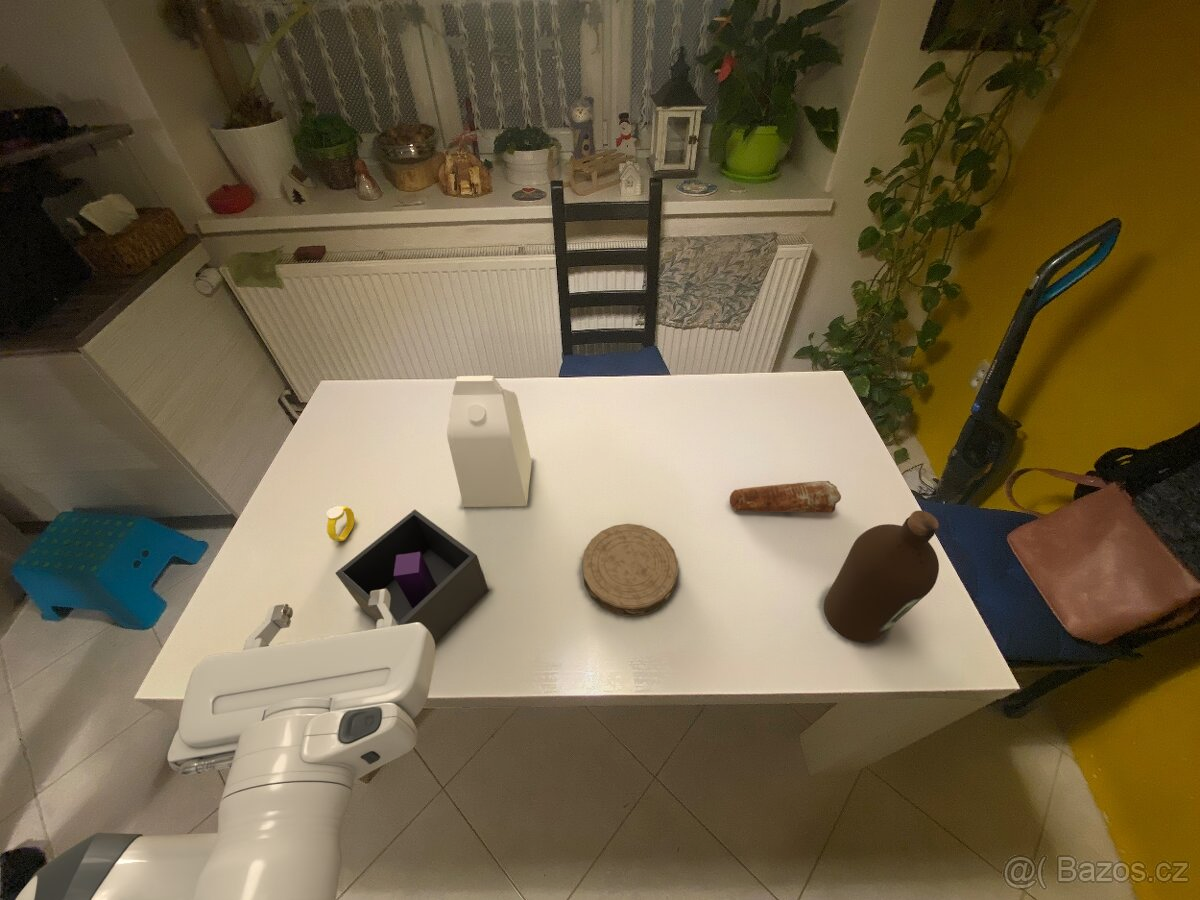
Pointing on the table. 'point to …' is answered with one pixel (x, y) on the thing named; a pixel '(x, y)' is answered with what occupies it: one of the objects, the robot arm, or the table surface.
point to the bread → (787, 498)
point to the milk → (488, 444)
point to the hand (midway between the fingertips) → (332, 599)
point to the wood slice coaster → (629, 569)
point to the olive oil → (883, 578)
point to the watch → (334, 515)
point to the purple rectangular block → (413, 577)
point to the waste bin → (445, 561)
